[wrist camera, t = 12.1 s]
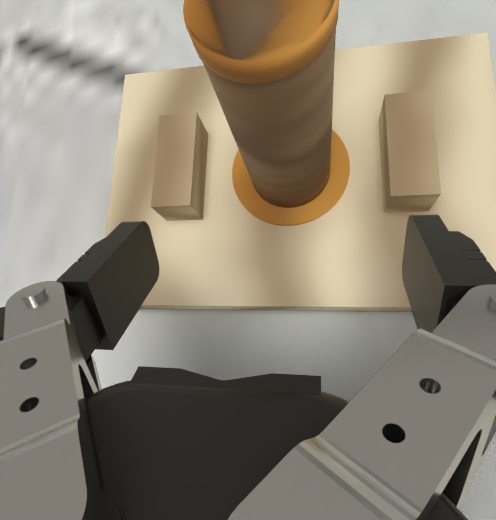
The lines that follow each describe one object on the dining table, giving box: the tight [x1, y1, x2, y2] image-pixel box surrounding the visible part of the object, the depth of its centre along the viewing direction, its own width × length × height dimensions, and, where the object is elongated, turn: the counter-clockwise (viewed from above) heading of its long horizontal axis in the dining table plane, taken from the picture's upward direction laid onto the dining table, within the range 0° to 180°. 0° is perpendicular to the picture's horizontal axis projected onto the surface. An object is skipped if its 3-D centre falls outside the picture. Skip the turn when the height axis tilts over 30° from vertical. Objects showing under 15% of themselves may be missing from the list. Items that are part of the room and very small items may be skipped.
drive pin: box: [183, 0, 339, 208], centre depth 15 cm, size 4×4×10 cm
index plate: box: [105, 33, 496, 311], centre depth 19 cm, size 20×14×4 cm
